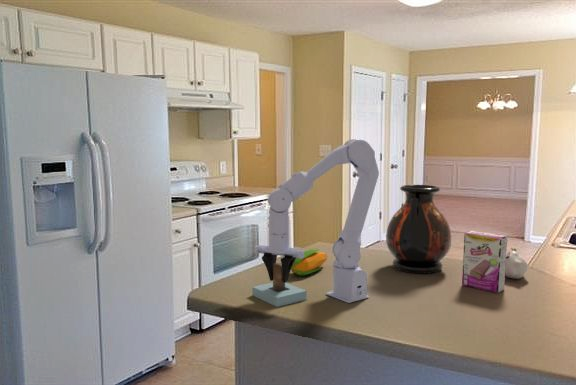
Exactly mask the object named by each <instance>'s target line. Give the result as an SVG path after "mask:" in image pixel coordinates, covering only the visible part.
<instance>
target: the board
mask: <svg viewBox="0 0 576 385" xmlns="http://www.w3.org/2000/svg"><path fill="white" fill-rule="evenodd" d="M251 287H252V289H251V291H252V293H251V294H252V296H253V297H255V298H258V299H259V300H261V301H263V302H265V303H268V304H270V305H272V306H274V307H276V308H279V307H283V306H287V305H290V304H295V303H297V302H298V303H299V302H303V301H306V300H307V290H305V289H302V288H300V287H297V286H295V285H292V284H290V283H288V282H285V290H283V291H275V290H273V281H271V282H268V283H264V284H259V285H255V286H251Z"/></svg>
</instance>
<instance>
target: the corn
mask: <svg viewBox="0 0 576 385" xmlns="http://www.w3.org/2000/svg"><path fill="white" fill-rule="evenodd" d="M327 260H328V255H327V253H326V252H323V251H320V249H319V248H316V249H315V248H314V249H308V250H304V258H302V259H299V258H297V257H296V259H295V261H294V263H293V265H292V268H291V270H290V271H291V272H292V273H293V275H295V276H296V275H297V276H300V277H301V276H302V277H303V276H304V277H305V276H307V275H310V274H313V273H315V272H318V271H319V270H321V269H322V268H323V267H322V265H323V264H324V263H325V262H326V261H327Z"/></svg>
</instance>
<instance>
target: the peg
mask: <svg viewBox="0 0 576 385" xmlns="http://www.w3.org/2000/svg"><path fill="white" fill-rule="evenodd" d="M272 282H273V290H275V291H283V290H285V283H284V282H283V280H282V264H281V262H276V263H275V264H273V281H272Z"/></svg>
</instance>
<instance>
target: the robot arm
mask: <svg viewBox="0 0 576 385" xmlns="http://www.w3.org/2000/svg"><path fill="white" fill-rule="evenodd" d="M345 164H351V165H352V166H353V167H354V169H355V171H356V172H357V174H358V180H357V181H356V182H357V183H356V185H355V189H354V192H353V197H352V199H351V203H350V206H349V209H348V212H347V215H346V216H347V217H346V220H345V223H344V226H343V229H342V230H341V231H340V233H339V236H338V238H337V240H336V241H335V242H334V243H333V245H332V254H333V256H334V257H335V259H334V261H333V263H332V290H331V291H328V292H326V293H325V295H327V296H330V297H332V298H334V299H338V300H339V301H343V302H345V303H349V304H350V303H351V304H352V303H354V302H358V301H362V300H365V299H368V298H369V297H370V296H369V295H368V274H367V272H366V271H365V270H364V269H362V268H361V266H360V263H359V262H360V261H361V256H362V255H361V246H362V237H361V236H362V231H363V229H364V226H365V222H366V219H367V216H368V212H369V208H370V205H371V202H372V199H373V195H374V192H375V190H376V187H377V186H376V185H377V182H378V180H379V175H380V170H379V167H378V163H377V159H376V152H375V150H374V149H373V148H372V146H371V144H370V143H369V142H368V141H366V140H364V139H356V138H355V139H349V140H346V142H344V144H341V145H338V147H336V148H334V149H333V150H332V151H330V152H329V153H328V154H326V156H324V157H323V158H322V159H321V160H319V161H318V162H317V163H315V165H313V166H312V167H310V168H309V170H307V171H302V170H301V171H298V172H296V171H295V172H293V173H292V174H291V177H290V178H289V179H288V180H286V181H285V182H284V183H283V184H281V183H280V184H278V185H277V186H278V188H276V189H273V190H272V191H271V192H270V193H269V196H268V197H267V203H268V205H269V210H268V214H269V216H268V245H261V244H260V245H259V244H258V245H255V246H254V248H253V249H254V254H262V255H263V256H261V261H263V263H264V265H265V267H266V268H265V269H266V271H267V275H268V278H269V281H271V282H273V264H275V263H277V258H278V256H281V258H280V263H281V264H282V280H283V282H284V283H285V282H286V283H288V282H289V278H290V273H291V271H292V270H291V268H292V265H293V263H294V261H295V259H296V257H297V258H299V259H302V258H304V252H305V250H303V249H299V248H298V249H297V248H294V247H290V215H289V214H290V213H289V209H290V207H291V204H292V202H293V203H295V202H296V201H298V199H300V198H301V197H303V196H304V195H305V194H306V193H308V192H309V191H310V190H312V188H313V186H314V182H315V181H316V180H318V179H319V178H320V177H322V176H323V175H325V174H326V173H327V172H329V171H330V170H332V169H333V168H335V167H336V166H337V165H345Z"/></svg>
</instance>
